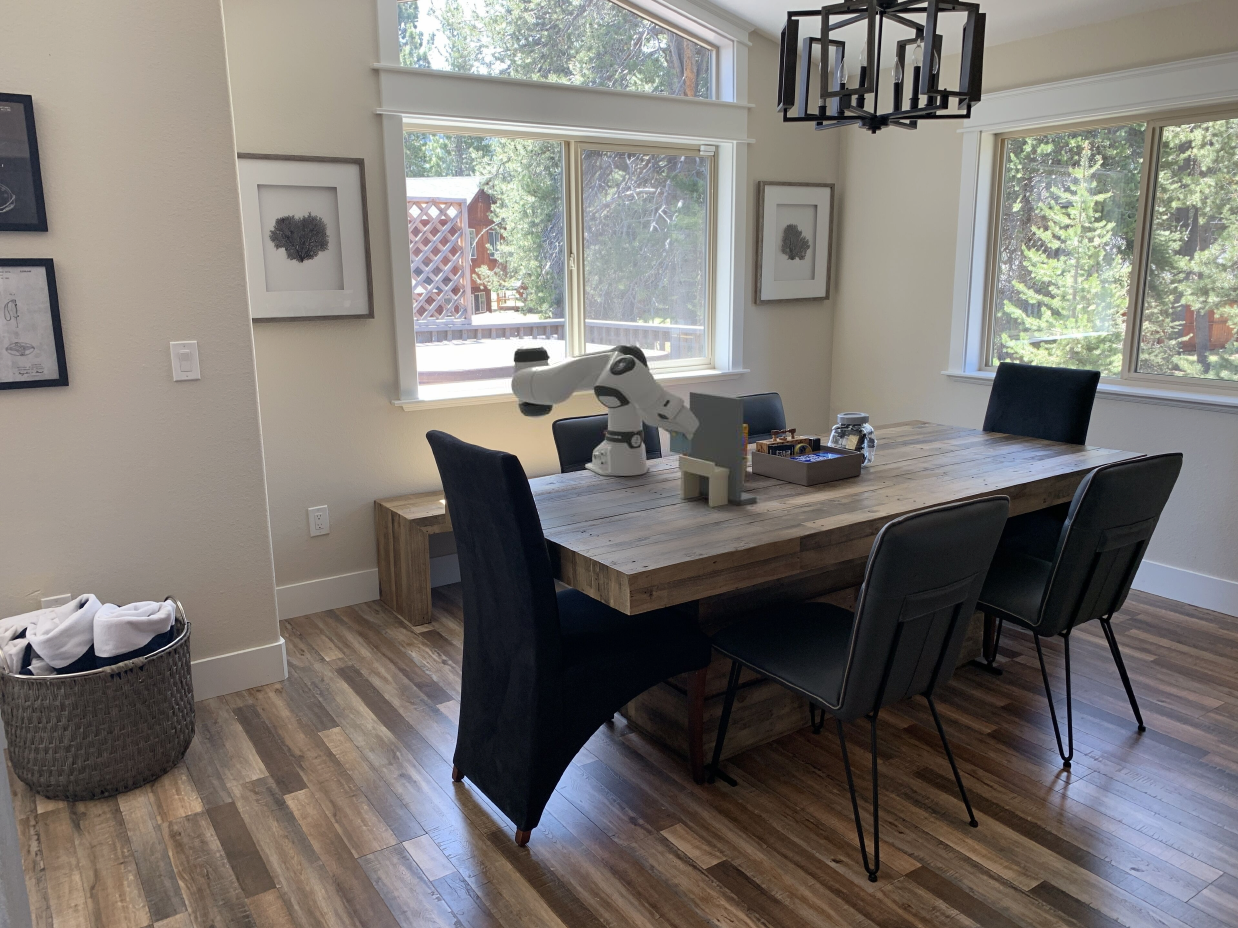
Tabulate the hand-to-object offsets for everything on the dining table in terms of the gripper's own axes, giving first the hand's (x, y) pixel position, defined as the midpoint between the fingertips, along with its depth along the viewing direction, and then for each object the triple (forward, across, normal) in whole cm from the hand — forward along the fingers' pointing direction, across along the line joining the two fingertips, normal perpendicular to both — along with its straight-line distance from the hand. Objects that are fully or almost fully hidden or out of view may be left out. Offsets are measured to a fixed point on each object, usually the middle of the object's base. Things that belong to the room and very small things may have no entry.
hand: (682, 436), depth 249 cm
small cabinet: (+3, 0, -4) cm, 4 cm away
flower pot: (+34, -9, +6) cm, 36 cm away
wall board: (+23, 0, -5) cm, 23 cm away
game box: (+40, -27, +12) cm, 50 cm away
